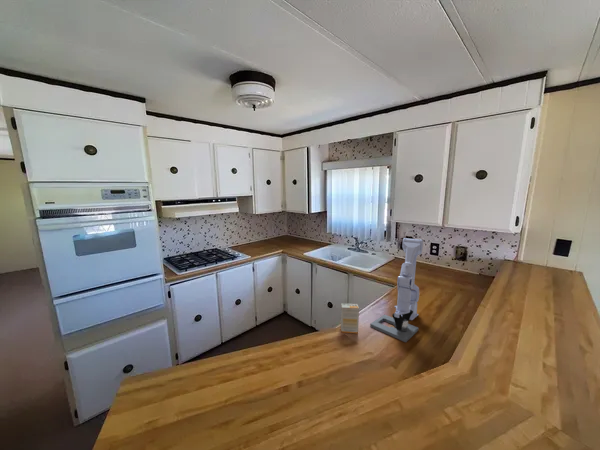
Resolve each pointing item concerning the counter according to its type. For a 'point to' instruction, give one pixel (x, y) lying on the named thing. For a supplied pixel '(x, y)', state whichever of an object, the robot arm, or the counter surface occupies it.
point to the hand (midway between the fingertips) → (402, 326)
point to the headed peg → (404, 325)
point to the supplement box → (349, 318)
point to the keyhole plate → (391, 330)
